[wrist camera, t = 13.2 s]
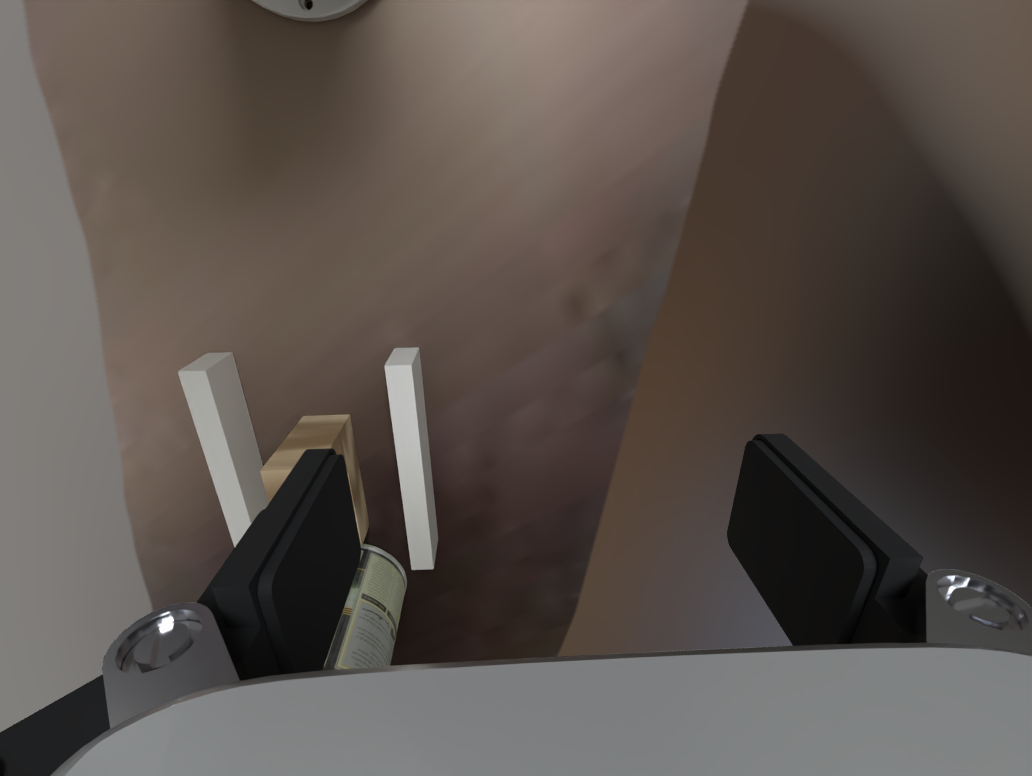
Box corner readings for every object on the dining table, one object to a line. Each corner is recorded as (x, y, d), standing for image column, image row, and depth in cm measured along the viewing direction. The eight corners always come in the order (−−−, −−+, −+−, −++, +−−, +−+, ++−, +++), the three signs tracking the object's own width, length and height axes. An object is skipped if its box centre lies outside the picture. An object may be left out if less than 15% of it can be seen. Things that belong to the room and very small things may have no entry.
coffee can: (357, 630, 52) (313, 780, 39) (284, 575, 48) (209, 720, 36) (429, 585, 50) (407, 727, 37) (358, 524, 46) (306, 658, 33)
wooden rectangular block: (303, 415, 41) (259, 470, 34) (350, 413, 42) (317, 468, 34) (328, 525, 46) (295, 596, 39) (369, 523, 46) (345, 593, 39)
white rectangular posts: (207, 352, 39) (177, 371, 35) (419, 347, 39) (411, 365, 36) (263, 545, 47) (244, 577, 43) (438, 538, 47) (433, 569, 44)
